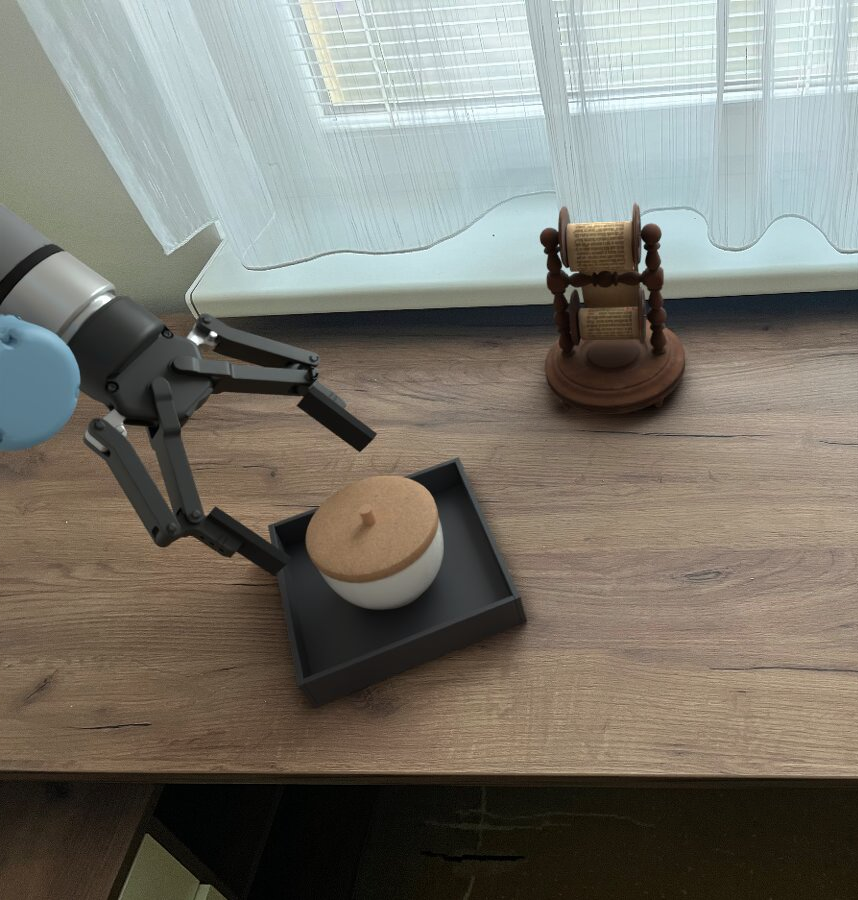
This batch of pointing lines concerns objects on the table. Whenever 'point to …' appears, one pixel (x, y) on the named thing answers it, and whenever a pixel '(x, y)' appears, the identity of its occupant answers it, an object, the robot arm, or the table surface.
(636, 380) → the scroll
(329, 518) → the trinket box
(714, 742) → the table surface
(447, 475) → the tray
